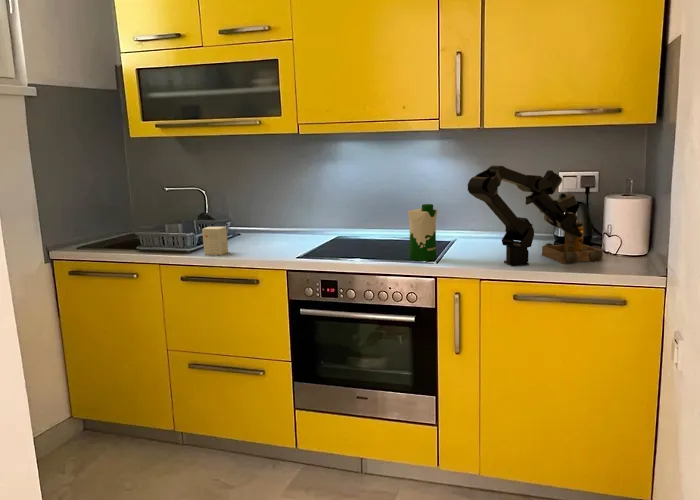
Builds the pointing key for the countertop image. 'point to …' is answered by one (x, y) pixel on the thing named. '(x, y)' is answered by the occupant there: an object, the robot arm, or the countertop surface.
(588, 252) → the chassis bay
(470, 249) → the countertop surface
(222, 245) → the small box
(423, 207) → the milk carton
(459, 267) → the countertop surface
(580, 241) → the condiment
